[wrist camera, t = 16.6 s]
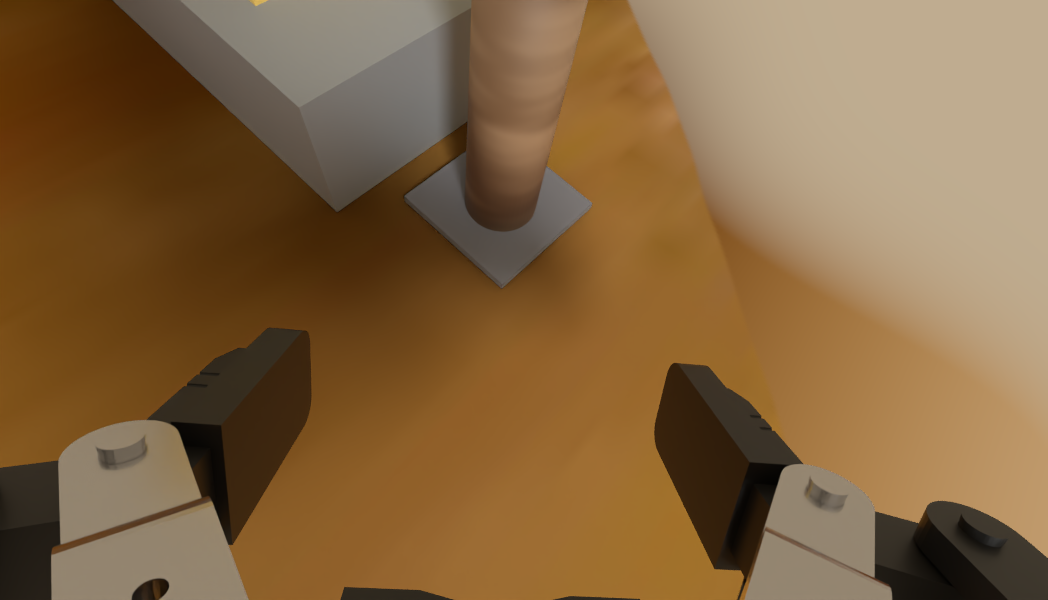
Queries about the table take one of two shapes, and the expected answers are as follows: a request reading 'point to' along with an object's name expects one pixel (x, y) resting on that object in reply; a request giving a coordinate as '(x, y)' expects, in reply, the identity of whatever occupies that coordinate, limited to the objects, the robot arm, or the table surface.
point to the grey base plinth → (326, 77)
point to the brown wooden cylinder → (515, 102)
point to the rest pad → (485, 247)
